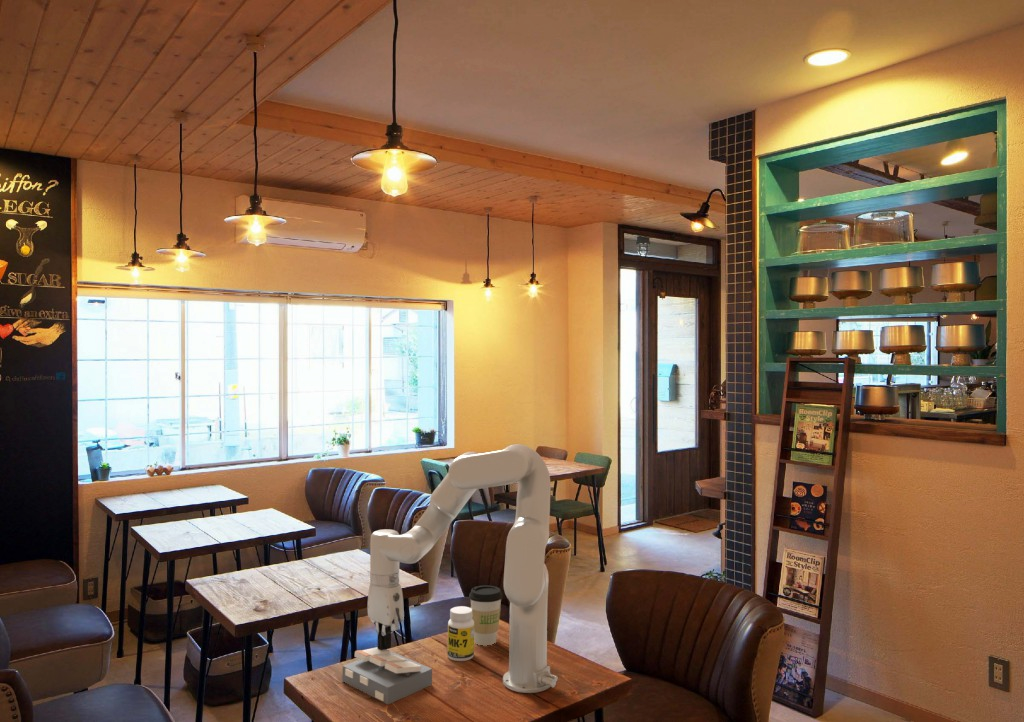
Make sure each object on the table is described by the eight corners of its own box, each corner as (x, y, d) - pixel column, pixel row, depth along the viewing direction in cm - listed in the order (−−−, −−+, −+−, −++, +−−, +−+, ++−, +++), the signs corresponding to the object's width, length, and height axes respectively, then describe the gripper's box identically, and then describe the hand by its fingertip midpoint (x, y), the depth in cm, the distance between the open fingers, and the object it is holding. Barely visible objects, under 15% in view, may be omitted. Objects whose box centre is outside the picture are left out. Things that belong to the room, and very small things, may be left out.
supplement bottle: (443, 660, 193) (444, 613, 193) (451, 650, 200) (452, 604, 200) (469, 663, 191) (470, 615, 191) (477, 652, 198) (477, 606, 198)
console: (432, 684, 178) (432, 664, 178) (387, 704, 167) (387, 683, 167) (386, 664, 190) (386, 645, 190) (341, 682, 179) (341, 662, 179)
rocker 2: (404, 664, 180) (405, 658, 180) (380, 666, 174) (381, 660, 174) (393, 659, 183) (394, 654, 183) (369, 661, 177) (370, 655, 177)
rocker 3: (420, 671, 176) (421, 665, 176) (396, 673, 170) (397, 667, 171) (408, 666, 179) (410, 660, 179) (384, 668, 173) (385, 662, 173)
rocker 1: (390, 655, 184) (390, 650, 184) (365, 661, 178) (365, 655, 178) (379, 651, 187) (379, 646, 187) (354, 656, 181) (355, 651, 181)
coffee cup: (498, 650, 200) (498, 596, 200) (464, 647, 202) (464, 594, 202) (505, 636, 210) (505, 585, 210) (473, 634, 211) (473, 583, 212)
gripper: (414, 581, 184) (413, 652, 184) (378, 569, 194) (378, 637, 194) (391, 587, 178) (390, 661, 178) (355, 575, 188) (355, 645, 188)
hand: (384, 648), depth 186 cm, fingers closed
